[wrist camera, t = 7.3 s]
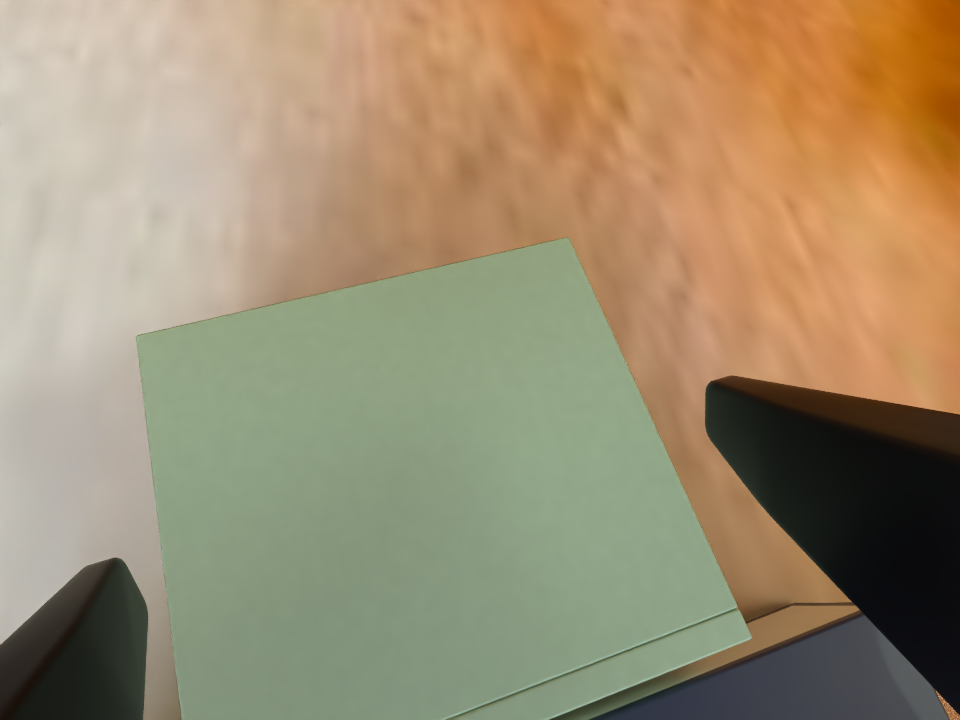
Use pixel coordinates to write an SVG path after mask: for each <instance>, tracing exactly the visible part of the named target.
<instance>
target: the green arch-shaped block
mask: <svg viewBox="0 0 960 720" xmlns="http://www.w3.org/2000/svg"><path fill="white" fill-rule="evenodd" d="M136 340H137V349H138V357H139V366H140V374H141V382H142V391H143V399H144V408H145V416H146V424H147V433H148V441H149V449H150V458H151V466H152V475H153V483H154V491H155V500H156V508H157V517H158V525H159V533H160V542H161V550H162V558H163V567H164V575H165V584H166V592H167V600H168V609H169V617H170V625H171V634H172V642H173V651H174V659H175V667H176V676H177V684H178V693H179V701H180V709H181V718H182V720H549V719H552V718H554V717H557V716H560V715H562V714H565V713H567V712H570V711H572V710H575V709H577V708H580V707H582V706H585V705H587V704H590V703H592V702H595V701H597V700H600V699H602V698H605V697H607V696H610V695H612V694H615V693H617V692H620V691H622V690H625V689H627V688H630V687H632V686H635V685H637V684H640V683H642V682H645V681H647V680H650V679H652V678H655V677H657V676H660V675H662V674H665V673H667V672H670V671H672V670H675V669H677V668H680V667H683V666H685V665H688V664H690V663H693V662H695V661H698V660H700V659H703V658H705V657H708V656H710V655H713V654H715V653H718V652H720V651H723V650H725V649H728V648H730V647H733V646H735V645H738V644H740V643H743V642H745V641H748V640H750V639H751V638H752V636H751V634H750V631H749V629H748V627H747V625H746V623H745V621H744V618H743V616H742V614H741V612H740V610H739V609H736V608H737V603H736V601H735V599H734V597H733V595H732V593H731V590H730V588H729V586H728V584H727V582H726V579H725V577H724V575H723V573H722V571H721V568H720V566H719V564H718V562H717V560H716V558H715V555H714V553H713V551H712V549H711V547H710V544H709V542H708V540H707V538H706V536H705V534H704V531H703V529H702V527H701V525H700V523H699V520H698V518H697V516H696V514H695V512H694V510H693V507H692V505H691V503H690V501H689V499H688V496H687V494H686V492H685V490H684V488H683V486H682V483H681V481H680V479H679V477H678V475H677V472H676V470H675V468H674V466H673V464H672V461H671V459H670V457H669V455H668V453H667V451H666V448H665V446H664V444H663V442H662V440H661V437H660V435H659V433H658V431H657V429H656V427H655V424H654V422H653V420H652V418H651V416H650V413H649V411H648V409H647V407H646V405H645V403H644V400H643V398H642V396H641V394H640V392H639V389H638V387H637V385H636V383H635V381H634V379H633V376H632V374H631V372H630V370H629V368H628V365H627V363H626V361H625V359H624V357H623V354H622V352H621V350H620V348H619V346H618V344H617V341H616V339H615V337H614V335H613V333H612V330H611V328H610V326H609V324H608V322H607V320H606V317H605V315H604V313H603V311H602V309H601V306H600V304H599V302H598V300H597V298H596V296H595V293H594V291H593V289H592V287H591V285H590V282H589V280H588V278H587V276H586V274H585V272H584V269H583V267H582V265H581V263H580V261H579V258H578V256H577V254H576V252H575V250H574V247H573V245H572V243H571V241H570V239H569V238H568V237H566V238H562V239H557V240H553V241H549V242H544V243H540V244H536V245H531V246H527V247H522V248H518V249H514V250H509V251H505V252H501V253H496V254H492V255H487V256H483V257H479V258H474V259H470V260H466V261H461V262H457V263H452V264H448V265H444V266H439V267H435V268H430V269H426V270H422V271H417V272H413V273H409V274H404V275H400V276H395V277H391V278H387V279H382V280H378V281H374V282H369V283H365V284H360V285H356V286H352V287H347V288H343V289H339V290H334V291H330V292H325V293H321V294H317V295H312V296H308V297H303V298H299V299H295V300H290V301H286V302H282V303H277V304H273V305H268V306H264V307H260V308H255V309H251V310H247V311H242V312H238V313H233V314H229V315H225V316H220V317H216V318H212V319H207V320H203V321H198V322H194V323H190V324H185V325H181V326H176V327H172V328H168V329H163V330H159V331H155V332H150V333H146V334H141V335H138V336H137V337H136Z"/></svg>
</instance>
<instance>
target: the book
mask: <svg viewBox="0 0 960 720" xmlns="http://www.w3.org/2000/svg"><path fill="white" fill-rule="evenodd" d="M746 625H747V627H748V629H749V631H750V634H751V636H752V638H751V639H750V640H748V641H745V642H743V643H740V644H738V645H735V646H733V647H730V648H728V649H725V650H723V651H720V652H718V653H715V654H713V655H710V656H708V657H705V658H703V659H700V660H698V661H695V662H693V663H690V664H688V665H685V666H683V667H680V668H677V669H675V670H672V671H670V672H667V673H665V674H662V675H660V676H657V677H655V678H652V679H650V680H647V681H645V682H642V683H640V684H637V685H635V686H632V687H630V688H627V689H625V690H622V691H620V692H617V693H615V694H612V695H610V696H607V697H605V698H602V699H600V700H597V701H595V702H592V703H590V704H587V705H585V706H582V707H580V708H577V709H575V710H572V711H570V712H567V713H565V714H562V715H560V716H557V717H554V718H552V719H549V720H950V719H949V717H948V715H947V713H946V711H945V709H944V707H943V705H942V703H941V701H940V699H939V697H938V695H937V693H936V691H935V689H934V688H933V687H932V686H931V684H930V683H929V682H928V681H927V680H926V679H925V678H924V677H923V676H922V675H921V674H920V673H919V672H918V671H917V670H916V669H915V668H914V667H913V666H912V664H911V663H910V662H909V661H908V660H907V659H906V658H905V657H904V656H903V655H902V654H901V653H900V652H899V651H898V650H897V649H896V648H895V647H894V646H893V644H892V643H891V642H890V641H889V640H888V639H887V638H886V637H885V636H884V635H883V634H882V633H881V632H880V631H879V630H878V629H877V628H876V627H875V626H874V624H873V623H872V622H871V621H870V620H869V619H868V618H867V617H866V616H865V615H864V614H863V613H862V612H861V611H860V610H859V609H858V608H857V607H856V606H855V605H854V603H794V604H792V605H789V606H786V607H784V608H781V609H779V610H776V611H774V612H771V613H769V614H766V615H763V616H761V617H758V618H756V619H753V620H751V621H748V622H746Z"/></svg>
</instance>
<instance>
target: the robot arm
mask: <svg viewBox="0 0 960 720" xmlns="http://www.w3.org/2000/svg"><path fill="white" fill-rule="evenodd" d="M705 427H706V432H707V434H708V436H709V438H710V440H711V442H712V443H713V444H714V445H715V447H716V448H717V449H718V451H719V452H720V453H721V454H722V456H723V457H724V458H725V460H726V461H727V462H728V464H729V465H730V466H731V467H732V469H733V470H734V471H735V473H736V474H737V475H738V476H739V478H740V479H741V480H742V482H743V483H744V484H745V486H746V487H747V488H748V489H749V491H750V492H751V493H752V495H753V496H754V497H755V498H756V500H757V501H758V502H759V503H760V504H761V506H762V507H763V508H764V509H765V510H766V511H767V513H768V514H769V515H770V516H771V517H772V518H773V519H774V520H775V521H776V522H777V523H778V525H779V526H780V527H781V528H782V529H783V530H784V531H785V532H786V533H787V534H788V535H789V536H790V537H791V538H792V539H793V540H794V541H795V542H796V543H797V545H798V546H799V547H800V548H801V549H802V550H803V551H804V552H805V553H806V554H807V555H808V556H809V557H810V558H811V559H812V560H813V561H814V562H815V563H816V565H817V566H818V567H819V568H820V569H821V570H822V571H823V572H824V573H825V574H826V575H827V576H828V577H829V578H830V579H831V580H832V581H833V582H834V583H835V585H836V586H837V587H838V588H839V589H840V590H841V591H842V592H843V593H844V594H845V595H846V596H847V597H848V598H849V599H850V600H851V601H852V602H853V603H854V605H855V606H856V607H857V608H858V609H859V610H860V611H861V612H862V613H863V614H864V615H865V616H866V617H867V618H868V619H869V620H870V621H871V622H872V623H873V624H874V626H875V627H876V628H877V629H878V630H879V631H880V632H881V633H882V634H883V635H884V636H885V637H886V638H887V639H888V640H889V641H890V642H891V643H892V644H893V646H894V647H895V648H896V649H897V650H898V651H899V652H900V653H901V654H902V655H903V656H904V657H905V658H906V659H907V660H908V661H909V662H910V663H911V664H912V666H913V667H914V668H915V669H916V670H917V671H918V672H919V673H920V674H921V675H922V676H923V677H924V678H925V679H926V680H927V681H928V682H929V683H930V684H931V686H932V687H933V688H934V689H935V690H936V691H937V692H938V693H939V694H940V695H941V696H942V697H943V698H944V699H945V700H946V701H947V702H948V703H949V704H950V706H951V707H952V708H953V709H954V710H955V711H956V712H957V713H958V714H959V715H960V415H959V414H953V413H948V412H942V411H936V410H930V409H924V408H919V407H913V406H907V405H901V404H895V403H889V402H884V401H878V400H872V399H866V398H860V397H855V396H849V395H843V394H837V393H831V392H825V391H820V390H814V389H808V388H802V387H796V386H791V385H785V384H779V383H773V382H767V381H762V380H756V379H750V378H744V377H738V376H727V377H724V378H720V379H717V380H714V381H711V382H710V383H709V384H708V385H707V387H706V393H705ZM147 631H148V611H147V606H146V603H145V600H144V598H143V596H142V594H141V592H140V590H139V588H138V587H137V585H136V583H135V581H134V579H133V577H132V575H131V573H130V571H129V569H128V567H127V565H126V564H125V563H124V562H123V561H122V560H121V559H119V558H111V559H108V560H105V561H101V562H98V563H95V564H91V565H88V566H86V567H84V568H83V569H82V570H81V571H80V572H79V573H78V574H77V575H75V576H74V577H73V578H72V579H71V580H70V581H69V582H68V583H67V584H66V585H65V586H64V587H62V588H61V589H60V590H59V591H58V592H57V593H56V594H55V595H54V596H53V597H52V598H51V599H50V600H48V601H47V602H46V603H45V604H44V605H43V606H42V607H41V608H40V609H39V610H38V611H37V612H36V613H34V614H33V615H32V616H31V617H30V618H29V619H28V620H27V621H26V622H25V623H24V624H23V625H22V626H20V627H19V628H18V629H17V630H16V631H15V632H14V633H13V634H12V635H11V636H10V637H9V638H8V639H6V640H5V641H4V642H3V643H2V644H1V645H0V720H143V710H144V691H145V671H146V651H147Z"/></svg>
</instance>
